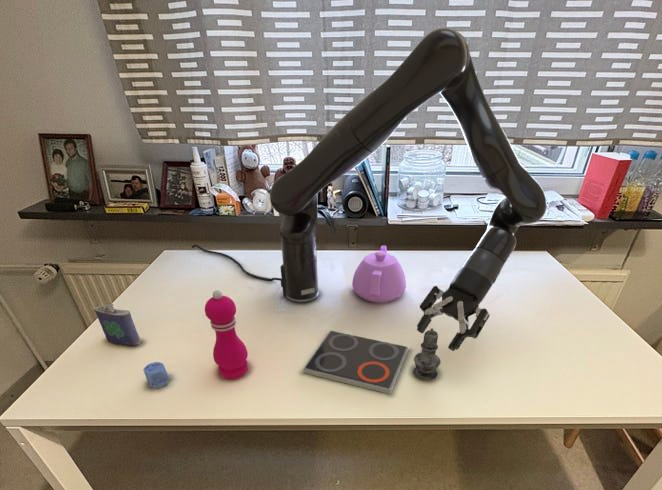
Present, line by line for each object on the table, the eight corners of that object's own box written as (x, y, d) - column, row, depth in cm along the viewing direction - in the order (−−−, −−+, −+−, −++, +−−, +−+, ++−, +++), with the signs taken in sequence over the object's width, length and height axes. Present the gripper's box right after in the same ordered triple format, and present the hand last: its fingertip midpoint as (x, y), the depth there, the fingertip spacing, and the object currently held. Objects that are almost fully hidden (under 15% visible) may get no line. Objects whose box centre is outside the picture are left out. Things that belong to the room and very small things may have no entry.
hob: (303, 373, 91) (303, 367, 90) (330, 334, 103) (330, 329, 102) (390, 394, 86) (390, 388, 85) (408, 351, 98) (408, 345, 97)
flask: (143, 341, 100) (129, 303, 93) (135, 348, 97) (120, 310, 91) (112, 335, 101) (95, 298, 95) (103, 342, 99) (85, 304, 93)
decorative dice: (170, 383, 88) (165, 369, 85) (151, 390, 86) (145, 376, 83) (166, 373, 90) (161, 359, 88) (147, 380, 89) (141, 365, 86)
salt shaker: (438, 383, 89) (446, 337, 81) (410, 379, 90) (416, 334, 82) (439, 366, 93) (447, 322, 86) (413, 362, 94) (418, 318, 87)
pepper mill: (221, 384, 88) (201, 303, 75) (214, 365, 93) (193, 287, 80) (254, 374, 90) (240, 295, 78) (245, 356, 95) (230, 279, 83)
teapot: (402, 313, 111) (406, 272, 103) (346, 308, 113) (346, 267, 105) (407, 276, 128) (411, 239, 120) (358, 272, 130) (358, 235, 122)
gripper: (444, 256, 87) (402, 320, 88) (502, 280, 79) (456, 350, 80) (455, 271, 93) (416, 331, 94) (510, 295, 85) (467, 360, 86)
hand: (434, 340), depth 87 cm, fingers open, 8 cm apart
